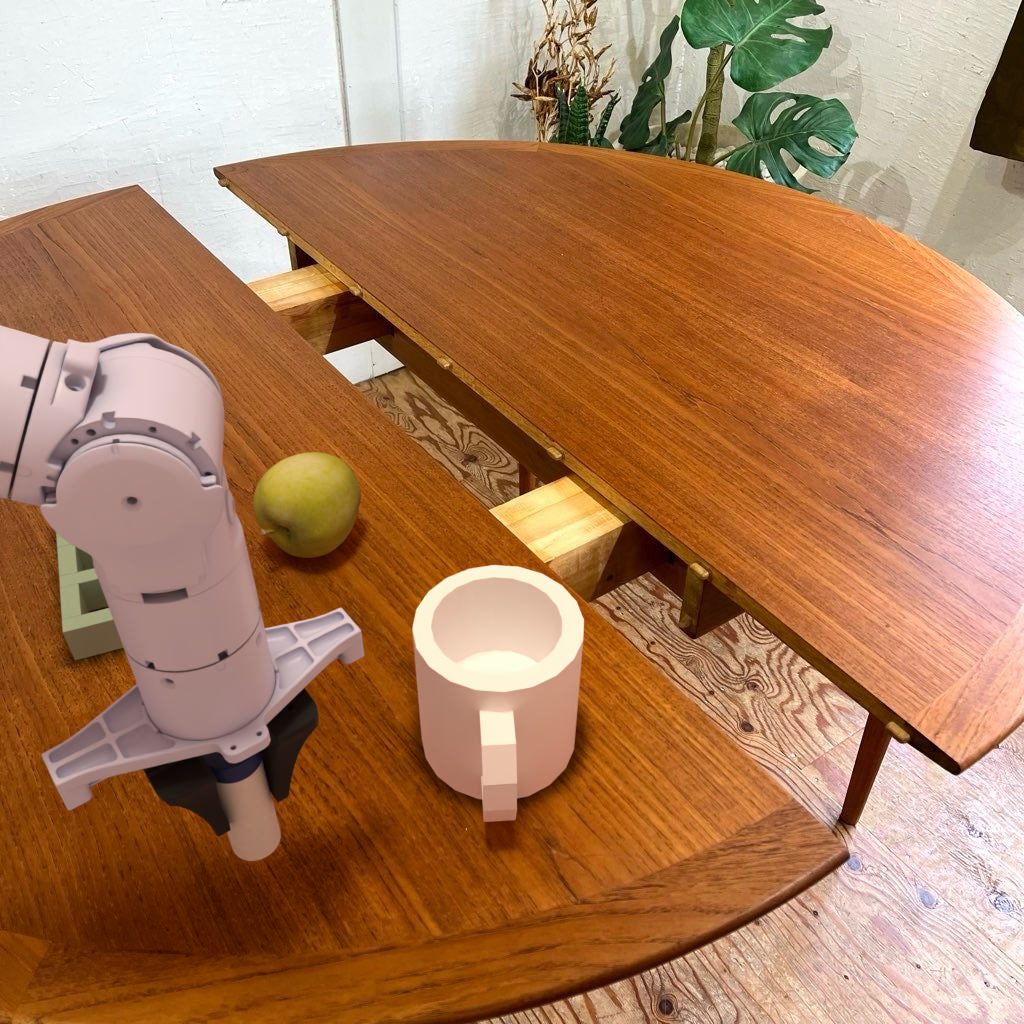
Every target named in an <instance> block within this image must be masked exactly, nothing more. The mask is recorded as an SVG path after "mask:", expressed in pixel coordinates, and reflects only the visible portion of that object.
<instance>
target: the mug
mask: <svg viewBox="0 0 1024 1024" xmlns="http://www.w3.org/2000/svg"><path fill="white" fill-rule="evenodd" d="M411 628H412V629H411V630H412V641H413V642H412V643H413V655H414V665H415V676H416V687H417V700H418V713H419V724H420V734H421V743H422V747H423V752H424V758H425V759H426V761H427V762H428V764H429V766H430V767H431V769H432V770H433V773H434V774H435V775H436V777H438V779H440V780H441V781H443V782H444V783H445V784H446V785H448V787H450V788H452V789H453V790H454V791H456V792H458V793H461V794H463V795H467V796H470V797H472V798H474V799H477V800H482V816H483V823H488V822H489V823H490V822H507V821H516V819H517V813H518V799H522V798H526V797H530V796H532V795H534V794H536V793H537V792H539V791H541V790H543V789H545V788H546V787H548V786H551V784H553V782H554V781H555V780H556V779H558V777H560V775H561V774H562V773H563V772H564V771H565V770H566V769H567V766H568V764H569V762H570V759H571V757H572V755H573V753H574V750H575V742H576V733H577V732H576V730H577V718H578V707H579V695H580V683H581V671H582V659H583V647H584V630H585V619H584V617H583V615H582V612H581V608H580V606H579V604H578V601H577V600H576V599H575V597H573V596H572V595H571V593H570V592H569V591H568V590H567V589H566V588H565V587H564V586H563V585H562V584H561V583H559V582H557V581H555V580H553V579H552V578H551V577H549V576H547V575H546V574H544V573H542V572H538V571H534V570H532V569H528V568H525V567H521V566H516V565H515V566H514V565H502V564H501V565H500V564H491V565H486V566H478V567H471V568H467V569H465V570H462V571H459V572H458V573H457V572H456V573H455V574H453V575H450V576H448V577H445V578H444V579H443V580H442V581H440V582H439V583H437V585H435V586H434V587H432V588H431V589H430V590H429V591H427V593H426V594H425V596H424V598H423V599H422V601H420V604H419V605H418V606H417V608H416V610H415V614H414V618H413V624H412V627H411Z"/></svg>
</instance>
